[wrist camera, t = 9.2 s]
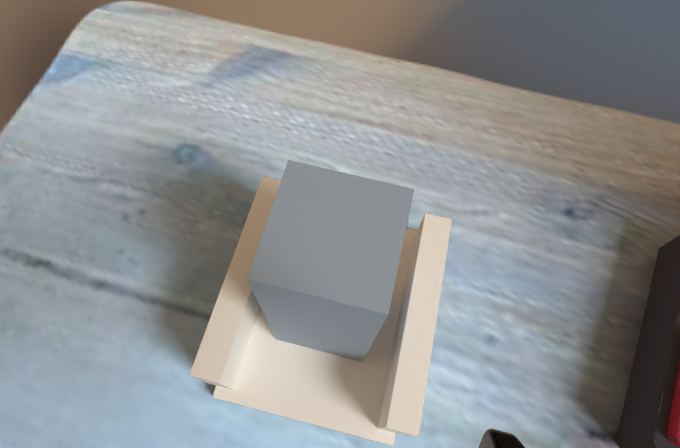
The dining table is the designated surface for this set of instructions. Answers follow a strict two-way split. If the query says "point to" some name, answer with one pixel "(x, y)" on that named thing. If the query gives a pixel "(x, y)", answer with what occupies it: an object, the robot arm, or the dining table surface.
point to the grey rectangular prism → (330, 258)
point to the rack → (320, 367)
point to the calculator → (656, 363)
